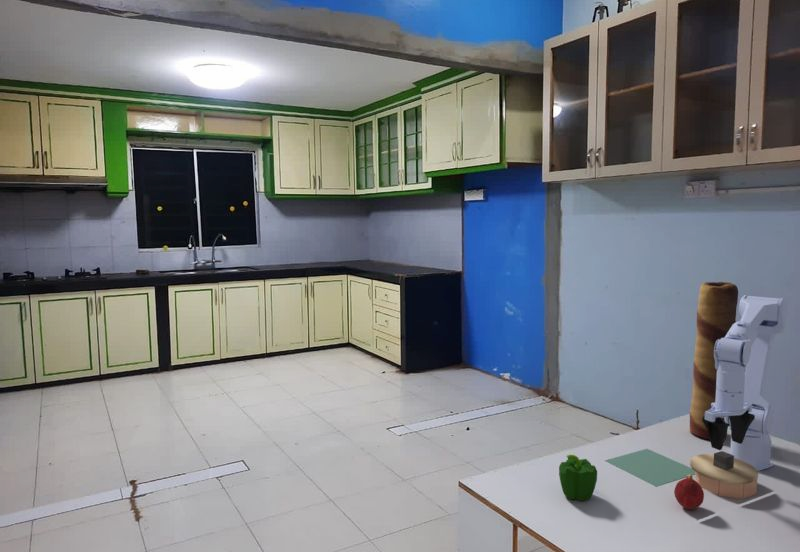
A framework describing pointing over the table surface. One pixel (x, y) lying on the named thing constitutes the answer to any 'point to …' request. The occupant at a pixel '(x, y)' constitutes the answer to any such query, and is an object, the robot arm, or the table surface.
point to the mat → (651, 467)
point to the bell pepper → (577, 478)
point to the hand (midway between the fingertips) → (727, 445)
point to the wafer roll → (710, 347)
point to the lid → (724, 468)
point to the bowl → (726, 487)
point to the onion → (689, 493)
